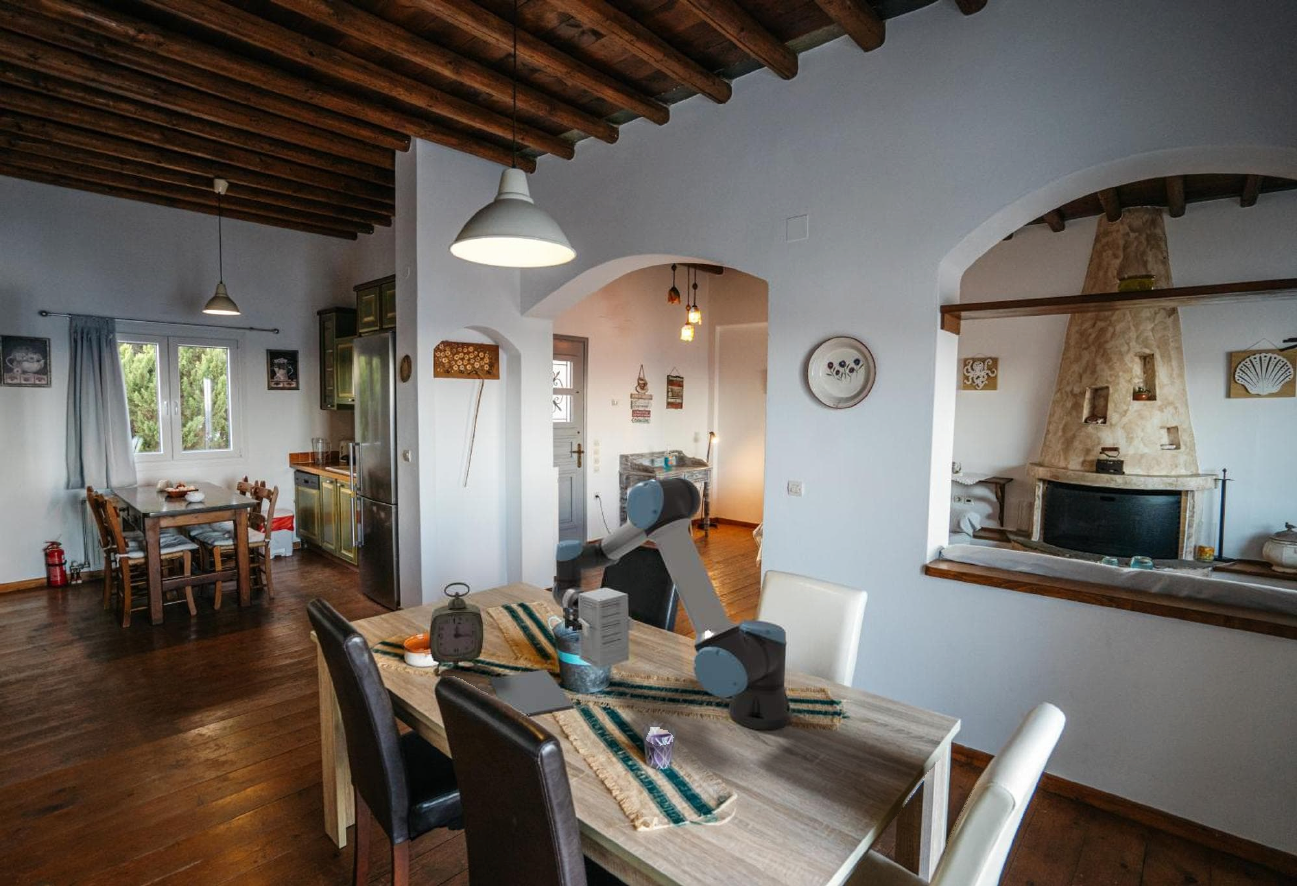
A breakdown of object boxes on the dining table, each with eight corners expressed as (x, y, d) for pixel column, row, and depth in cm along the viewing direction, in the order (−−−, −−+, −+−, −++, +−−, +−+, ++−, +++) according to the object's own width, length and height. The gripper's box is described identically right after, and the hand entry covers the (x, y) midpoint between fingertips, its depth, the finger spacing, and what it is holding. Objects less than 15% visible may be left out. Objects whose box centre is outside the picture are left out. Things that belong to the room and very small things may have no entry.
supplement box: (630, 660, 159) (629, 593, 158) (600, 670, 153) (600, 601, 152) (607, 649, 166) (606, 586, 166) (577, 658, 160) (577, 592, 160)
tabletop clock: (429, 677, 175) (430, 587, 174) (429, 664, 184) (430, 579, 183) (483, 671, 180) (484, 584, 179) (481, 659, 189) (482, 576, 187)
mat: (573, 707, 160) (573, 704, 160) (510, 718, 153) (510, 716, 153) (545, 671, 181) (545, 669, 181) (489, 680, 174) (489, 678, 174)
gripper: (618, 612, 181) (652, 636, 161) (539, 622, 171) (564, 649, 151) (618, 586, 180) (653, 607, 161) (539, 595, 170) (565, 618, 151)
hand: (610, 628), depth 156 cm, fingers closed on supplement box, 11 cm apart
